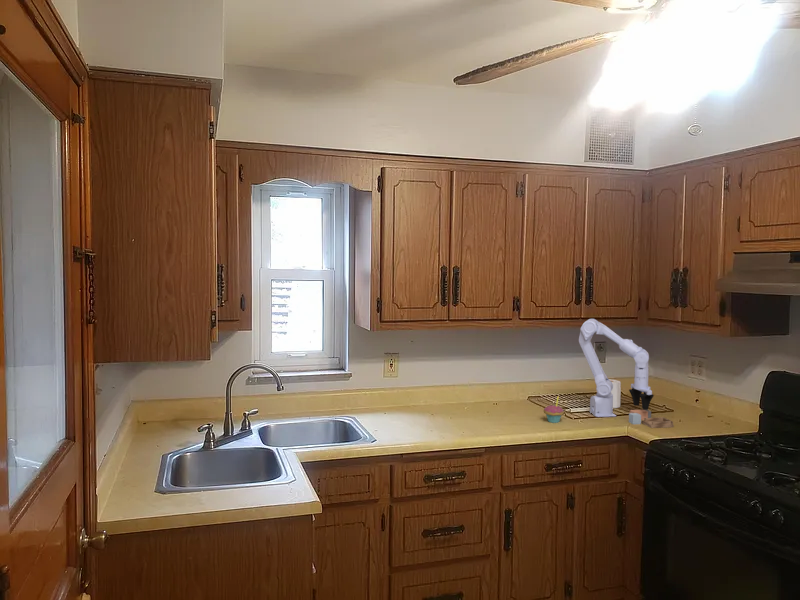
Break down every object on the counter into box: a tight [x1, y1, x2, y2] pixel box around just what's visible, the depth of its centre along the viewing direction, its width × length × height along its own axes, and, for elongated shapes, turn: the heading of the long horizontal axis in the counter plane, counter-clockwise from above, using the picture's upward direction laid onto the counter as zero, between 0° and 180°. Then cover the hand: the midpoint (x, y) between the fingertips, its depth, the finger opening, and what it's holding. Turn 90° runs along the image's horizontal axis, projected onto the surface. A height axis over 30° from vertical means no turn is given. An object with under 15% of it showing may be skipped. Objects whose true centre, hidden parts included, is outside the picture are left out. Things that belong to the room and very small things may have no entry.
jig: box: [641, 416, 675, 429], centre depth 252 cm, size 10×8×2 cm
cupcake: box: [543, 394, 565, 424], centre depth 257 cm, size 9×8×12 cm
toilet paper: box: [608, 378, 622, 409], centre depth 285 cm, size 10×10×12 cm
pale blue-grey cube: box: [628, 412, 642, 425], centre depth 255 cm, size 4×4×4 cm
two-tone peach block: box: [629, 409, 652, 421], centre depth 262 cm, size 8×4×4 cm, turn 96°
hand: (640, 407), depth 262 cm, fingers open, 7 cm apart
